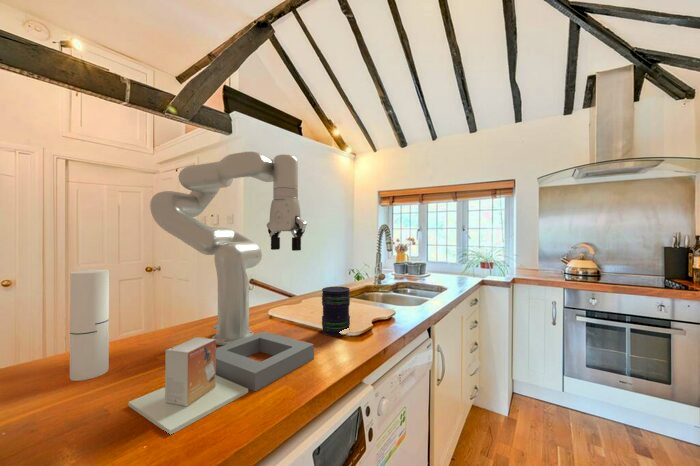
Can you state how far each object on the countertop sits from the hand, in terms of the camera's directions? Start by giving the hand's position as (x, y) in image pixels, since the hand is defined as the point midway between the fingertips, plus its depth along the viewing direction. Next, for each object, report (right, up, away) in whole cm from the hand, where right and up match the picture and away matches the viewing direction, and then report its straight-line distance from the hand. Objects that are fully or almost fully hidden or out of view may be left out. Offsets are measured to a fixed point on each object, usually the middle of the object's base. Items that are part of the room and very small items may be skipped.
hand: (285, 250), depth 92 cm
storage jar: (+15, -30, +11) cm, 35 cm away
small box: (-13, -28, -31) cm, 44 cm away
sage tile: (-13, -29, -31) cm, 45 cm away
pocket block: (-4, -29, -15) cm, 33 cm away
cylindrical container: (-44, -29, -20) cm, 56 cm away
